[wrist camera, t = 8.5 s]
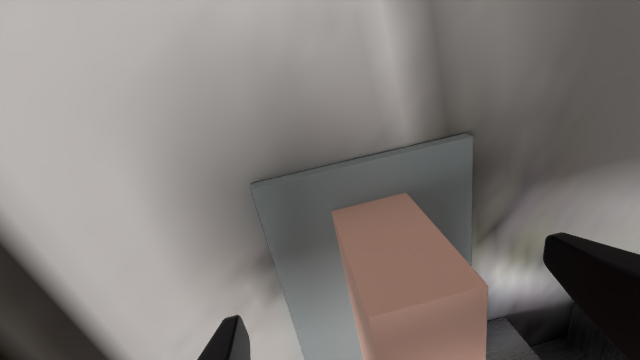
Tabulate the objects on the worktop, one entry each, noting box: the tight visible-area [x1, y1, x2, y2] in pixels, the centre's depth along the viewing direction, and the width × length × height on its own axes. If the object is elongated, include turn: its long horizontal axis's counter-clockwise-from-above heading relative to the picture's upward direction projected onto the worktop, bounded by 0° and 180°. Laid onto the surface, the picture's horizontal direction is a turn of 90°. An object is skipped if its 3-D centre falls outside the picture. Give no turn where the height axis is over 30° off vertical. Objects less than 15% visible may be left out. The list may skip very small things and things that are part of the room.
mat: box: [250, 133, 473, 360], centre depth 13 cm, size 13×7×1 cm, turn 11°
